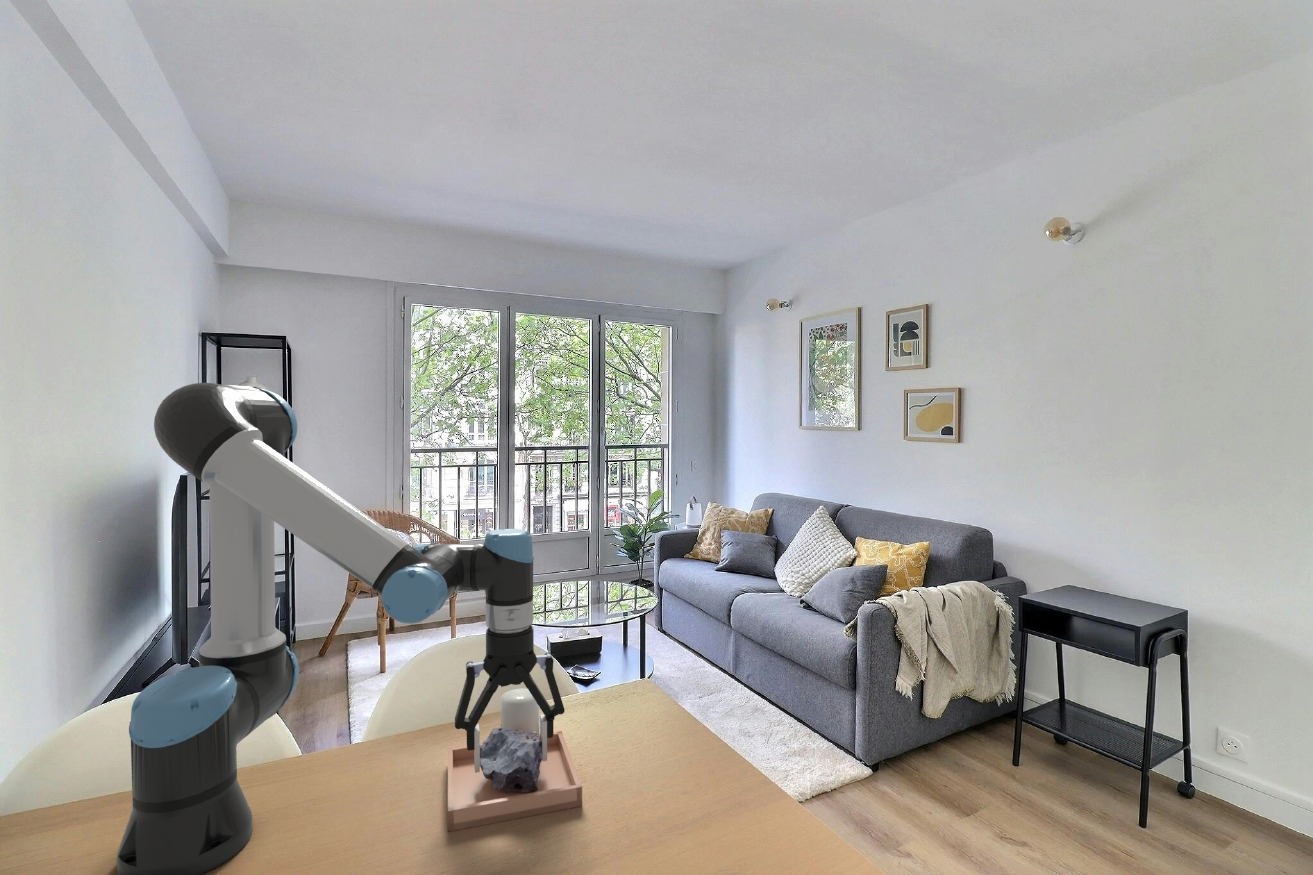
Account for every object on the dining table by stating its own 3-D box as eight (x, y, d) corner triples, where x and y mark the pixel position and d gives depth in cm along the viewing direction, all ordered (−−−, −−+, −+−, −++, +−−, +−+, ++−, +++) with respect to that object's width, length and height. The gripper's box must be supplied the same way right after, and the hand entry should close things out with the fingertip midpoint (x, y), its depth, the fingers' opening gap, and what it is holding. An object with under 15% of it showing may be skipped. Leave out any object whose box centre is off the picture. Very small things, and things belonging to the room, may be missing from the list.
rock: (550, 791, 97) (550, 720, 101) (481, 798, 94) (484, 723, 98) (536, 790, 109) (537, 726, 113) (475, 795, 106) (478, 729, 110)
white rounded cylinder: (502, 750, 115) (502, 706, 115) (499, 732, 122) (499, 691, 121) (541, 744, 117) (541, 701, 117) (536, 727, 124) (536, 686, 124)
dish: (448, 831, 92) (447, 811, 92) (447, 765, 110) (447, 748, 110) (582, 805, 98) (582, 786, 98) (561, 747, 116) (561, 731, 116)
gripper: (435, 641, 96) (437, 787, 97) (583, 626, 103) (583, 762, 104) (436, 626, 104) (437, 762, 104) (574, 613, 111) (575, 740, 111)
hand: (510, 762), depth 104 cm, fingers closed on rock, 10 cm apart
